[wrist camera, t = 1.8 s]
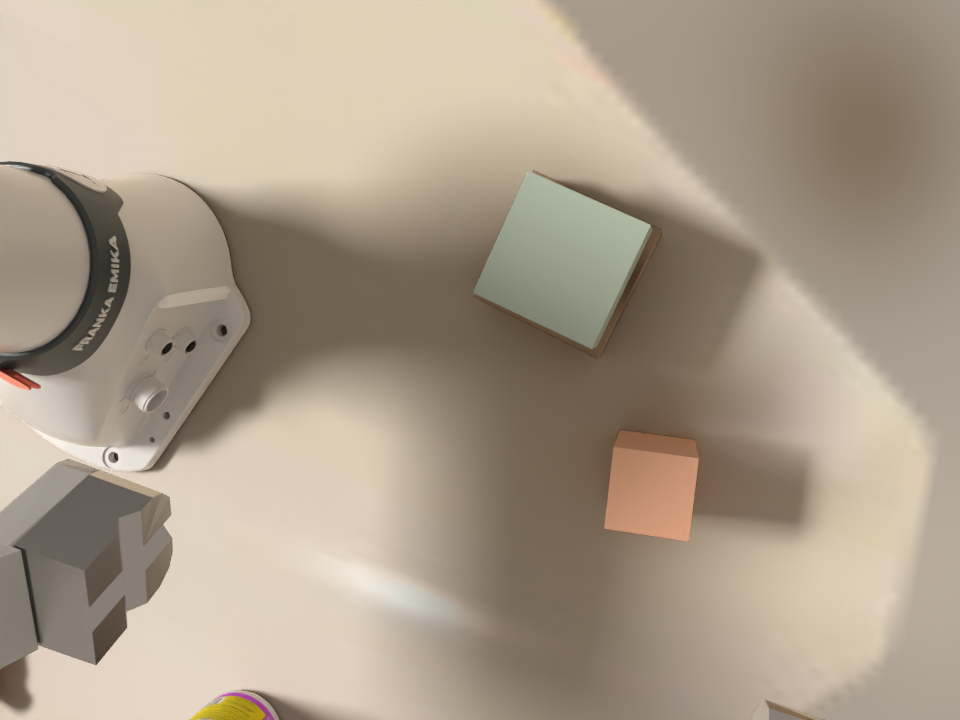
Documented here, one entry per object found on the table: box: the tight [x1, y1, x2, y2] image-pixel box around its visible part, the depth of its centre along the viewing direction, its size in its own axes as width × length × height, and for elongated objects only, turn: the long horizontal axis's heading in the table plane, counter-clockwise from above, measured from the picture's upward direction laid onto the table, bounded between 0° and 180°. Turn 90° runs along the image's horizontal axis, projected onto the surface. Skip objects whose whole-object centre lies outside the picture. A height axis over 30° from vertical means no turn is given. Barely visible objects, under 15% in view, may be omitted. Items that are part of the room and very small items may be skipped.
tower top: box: [473, 171, 652, 349], centre depth 55 cm, size 8×8×4 cm
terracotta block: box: [604, 430, 699, 542], centre depth 56 cm, size 5×5×8 cm
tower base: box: [473, 170, 662, 358], centre depth 59 cm, size 9×9×4 cm
